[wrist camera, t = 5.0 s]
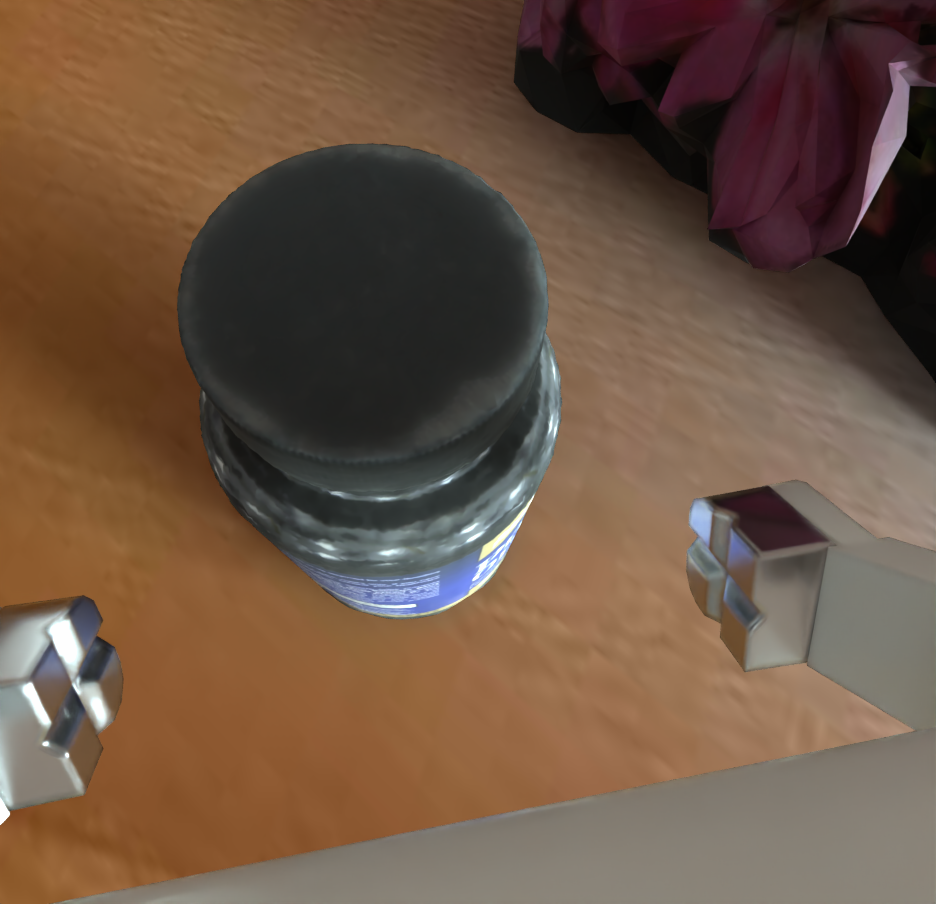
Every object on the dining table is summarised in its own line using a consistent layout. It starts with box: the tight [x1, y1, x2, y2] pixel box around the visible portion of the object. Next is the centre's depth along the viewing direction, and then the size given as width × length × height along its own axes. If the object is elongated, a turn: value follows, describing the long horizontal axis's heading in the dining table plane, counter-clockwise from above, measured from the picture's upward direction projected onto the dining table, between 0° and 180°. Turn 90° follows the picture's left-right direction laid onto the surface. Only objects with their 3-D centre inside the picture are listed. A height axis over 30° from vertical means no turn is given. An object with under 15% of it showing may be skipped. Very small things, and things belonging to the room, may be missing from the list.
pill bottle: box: [177, 143, 562, 619], centre depth 14 cm, size 6×6×11 cm
